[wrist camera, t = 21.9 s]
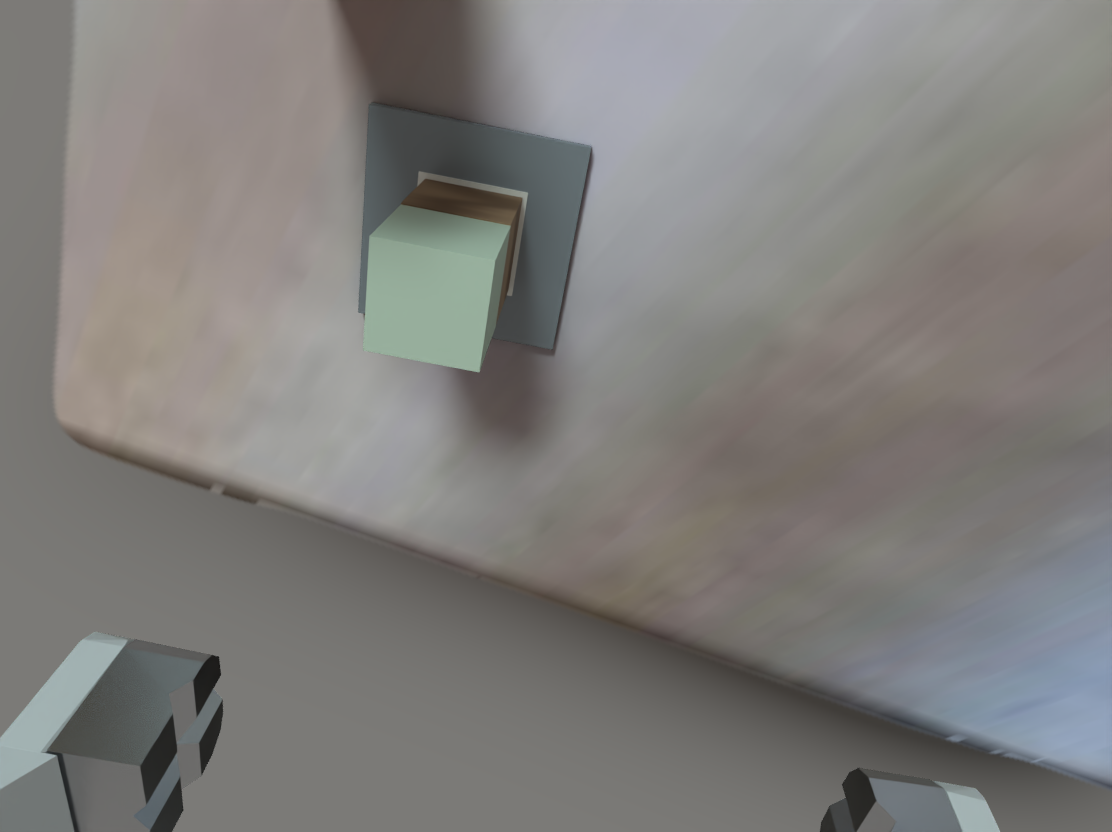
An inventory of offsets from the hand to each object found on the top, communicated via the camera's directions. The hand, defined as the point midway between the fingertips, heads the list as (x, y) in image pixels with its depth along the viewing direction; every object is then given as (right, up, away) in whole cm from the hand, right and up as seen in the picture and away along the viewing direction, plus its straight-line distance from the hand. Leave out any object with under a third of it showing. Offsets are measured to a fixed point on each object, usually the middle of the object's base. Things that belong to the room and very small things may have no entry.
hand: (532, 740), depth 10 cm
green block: (-5, +11, +26) cm, 28 cm away
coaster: (-4, +14, +31) cm, 34 cm away
